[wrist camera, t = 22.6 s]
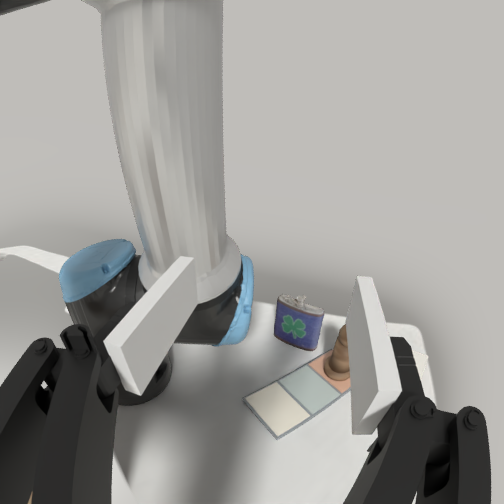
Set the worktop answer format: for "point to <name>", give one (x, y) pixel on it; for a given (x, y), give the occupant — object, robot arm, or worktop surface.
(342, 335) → the pawn
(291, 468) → the worktop surface
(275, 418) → the board
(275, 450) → the worktop surface
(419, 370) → the white die
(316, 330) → the flask
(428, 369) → the worktop surface
